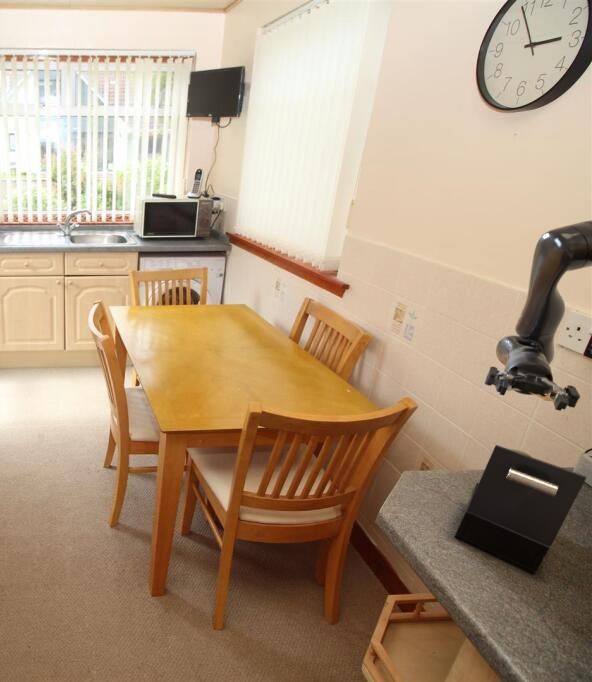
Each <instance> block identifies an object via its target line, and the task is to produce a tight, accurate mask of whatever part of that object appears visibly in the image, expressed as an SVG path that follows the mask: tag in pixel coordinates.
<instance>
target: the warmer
mask: <svg viewBox="0 0 592 682" xmlns="http://www.w3.org/2000/svg"><path fill="white" fill-rule="evenodd" d="M478 483H479V482H476V483H475V486H474V488H473V490H472V492H471V494H470V497H469V499H468V501H467V503H466V506H465V508H464V510H463V513H462V516H461V518H460V521H459V524H458V527H457V529H456V532H455V535H454V539H457V540H458V541H460V542H463V543H464V544H467V545H469V546H471V547H473V548H475V549H477V550H480V551H482V552H484V553H486V554H488V555H490V556H492V557H494V558H497V559H499V560H501V561H503V562H505V563H507V564H509V565H511V566H514V567H516V568H518V569H520V570H522V571H524V572H526V573H529V574H531V575H533V576H535V574H536V573H537V571H538V569H539V567H540V566H541V564H542V562H543V560H544V559H545V557H546V555H547V553H548V552H549V550H550V546H548V545H545V544H543V543H541V542H538V541H536V540H534V539H532V538H529V537H527V536H525V535H522V534H520V533H518V532H515V531H513V530H511V529H509V528H506V527H504V526H502V525H499V524H497V523H495V522H492V521H490V520H488V519H485V518H483V517H481V516H479V515H476V514H474V513H472V512H469V511H467V508H468V506H469V504H470V501H471V499H472V497H473V495H474V492H475V490H476V488H477V486H478Z"/></svg>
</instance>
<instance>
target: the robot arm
mask: <svg viewBox="0 0 592 682" xmlns="http://www.w3.org/2000/svg"><path fill="white" fill-rule="evenodd" d="M532 256H533V257H532V262H531V268H530V275H529V280H528V281H529V282H528V289H527V295H526V299H525V302H524V305H523V308H522V310H521V312H520V314H519V317H518V319H517V322H516V324H515V328H514V331H515V333H516V335H515V334H514V335H513V334H509V335H506V336H503V337H502V338H501V339H499V341H498V342H497V344H496V348H495V353H496V357H497V360H498V361H499V362H500V363H501V364H502V365H503V366H504V369H503V370H504V371H503V372H501V371H500V370H499V368H498V367H497V366H490V367H489V370H488V372H487V375H486V376H485V380H484V384H485V385H486V386H489V387H490V386H495V391H496V392H497V393H499V395H501V396H505V395H506V392H507V391H508V392H511V391H514V392H516V393H518V394H520V395H521V394H522V395H525V396H526V395H528V396H537V397H538V398H540V399H542V400H543V401H546V402H552V403H553V405H554V410H556V411H559V412H561V411H562V410H564V411H565V410H566V409H567V407H569V408H576V406H577V404H578V401H579V399H580V398H581V395H580V393H579V391H578V390H577V388H576V387H575V386H574V385H569V384H568V385H566V386H565V387H562V386H559V385H558V384H557V383H556V382H554V377H553V373H552V368H551V365H550V364H551V363H552V362H553V360H554V358H555V335H556V333H557V331H558V328H559V327H560V324H561V323H562V321H563V318H564V317H565V312H566V303H565V300H564V299H563V296H562V295H561V293H560V292H559V289H558V286H559V285H558V284H559V283H560V281H561V279H562V278H563V276H564V275H565V274H566V273H567V272H572V271H577V270H580V269H581V270H582V269H585V268H586V269H587V268H590V267H592V219H591V220H584V221H580V222H576V223H572V224H568V225H565V226H560V227H556V228H553V229H549V230H547V231H545V232H544V233H542V234H541V236H539V238H538V240H537V242H536V244H535V248H534V251H533V255H532Z"/></svg>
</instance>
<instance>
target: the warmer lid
mask: <svg viewBox="0 0 592 682" xmlns="http://www.w3.org/2000/svg"><path fill="white" fill-rule="evenodd" d="M510 449H511V448H507V447H503V446H501V445H499V444H495V446H494V448H493V450H492V452H491V454H490V456H489V458H488V461H487V463H486V465H485V468H484V470H483V472H482V474H481V477H480V479H479V480H478V482H477V483H478V486H477V488H476V490H475V492H474V495H473V497H472V499H471V501H470V504H469V506H468V508H467V511H469V512H472V513H474V514H476V515H479V516H481V517H483V518H485V519H488V520H490V521H492V522H495V523H497V524H499V525H502V526H504V527H506V528H509V529H511V530H513V531H515V532H518V533H520V534H522V535H525V536H527V537H529V538H532V539H534V540H536V541H538V542H541V543H543V544H545V545H548V546H549V548H550V547H552V546H553V543H554V541H555V540H556V538H557V536H558V533H559V532H560V530H561V528H562V526H563V524H564V522H565V520H566V518H567V516H568V515H569V512H570V511H571V509H572V507H573V505H574V503H575V501H576V499H577V497H578V496H579V494H580V491H581V489H582V488H583V485H584V483H585V481H586V480H587V475H584V474H581V473H578V472H575V471H572V470H569V469H566V468H564V467H561V466H558V465H555V464H553V463H550V462H547V461H543V460H541V459H538V458H536V457H533V456H531V455H530V456H531V457H530V456H527V455H524V454H521V453H518V452H515V451H512V450H510Z"/></svg>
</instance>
